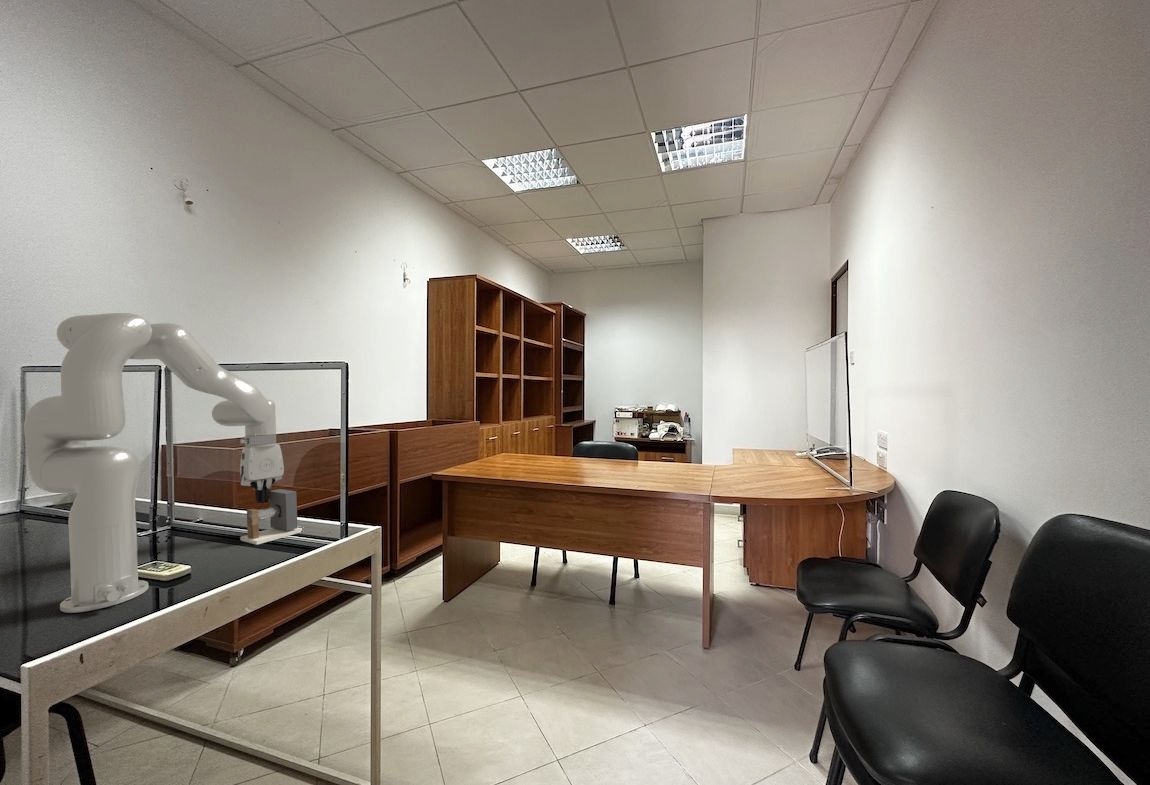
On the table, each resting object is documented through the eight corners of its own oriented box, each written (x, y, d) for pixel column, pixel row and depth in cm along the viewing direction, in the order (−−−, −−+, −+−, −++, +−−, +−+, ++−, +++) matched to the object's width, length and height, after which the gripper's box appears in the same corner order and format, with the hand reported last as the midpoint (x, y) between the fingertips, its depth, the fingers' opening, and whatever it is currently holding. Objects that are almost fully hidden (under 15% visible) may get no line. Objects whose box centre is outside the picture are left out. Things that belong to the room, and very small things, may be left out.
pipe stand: (304, 531, 134) (303, 501, 134) (256, 544, 123) (255, 512, 123) (288, 527, 139) (287, 498, 139) (240, 540, 127) (239, 509, 127)
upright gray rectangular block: (297, 528, 133) (296, 491, 133) (286, 530, 130) (285, 493, 130) (281, 524, 137) (279, 489, 137) (270, 527, 134) (269, 491, 134)
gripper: (238, 444, 124) (240, 509, 124) (294, 438, 137) (295, 498, 137) (225, 443, 128) (227, 507, 128) (280, 438, 141) (282, 496, 141)
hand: (262, 502), depth 132 cm, fingers closed
